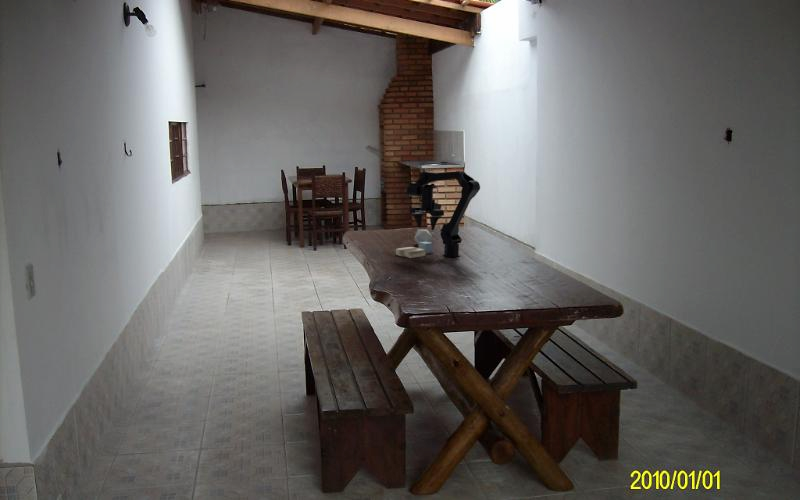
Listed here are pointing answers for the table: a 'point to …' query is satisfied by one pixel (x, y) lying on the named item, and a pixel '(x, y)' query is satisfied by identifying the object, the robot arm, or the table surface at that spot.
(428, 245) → the slate block
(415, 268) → the table surface
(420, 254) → the maple base
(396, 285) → the table surface
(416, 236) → the die
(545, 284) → the table surface
